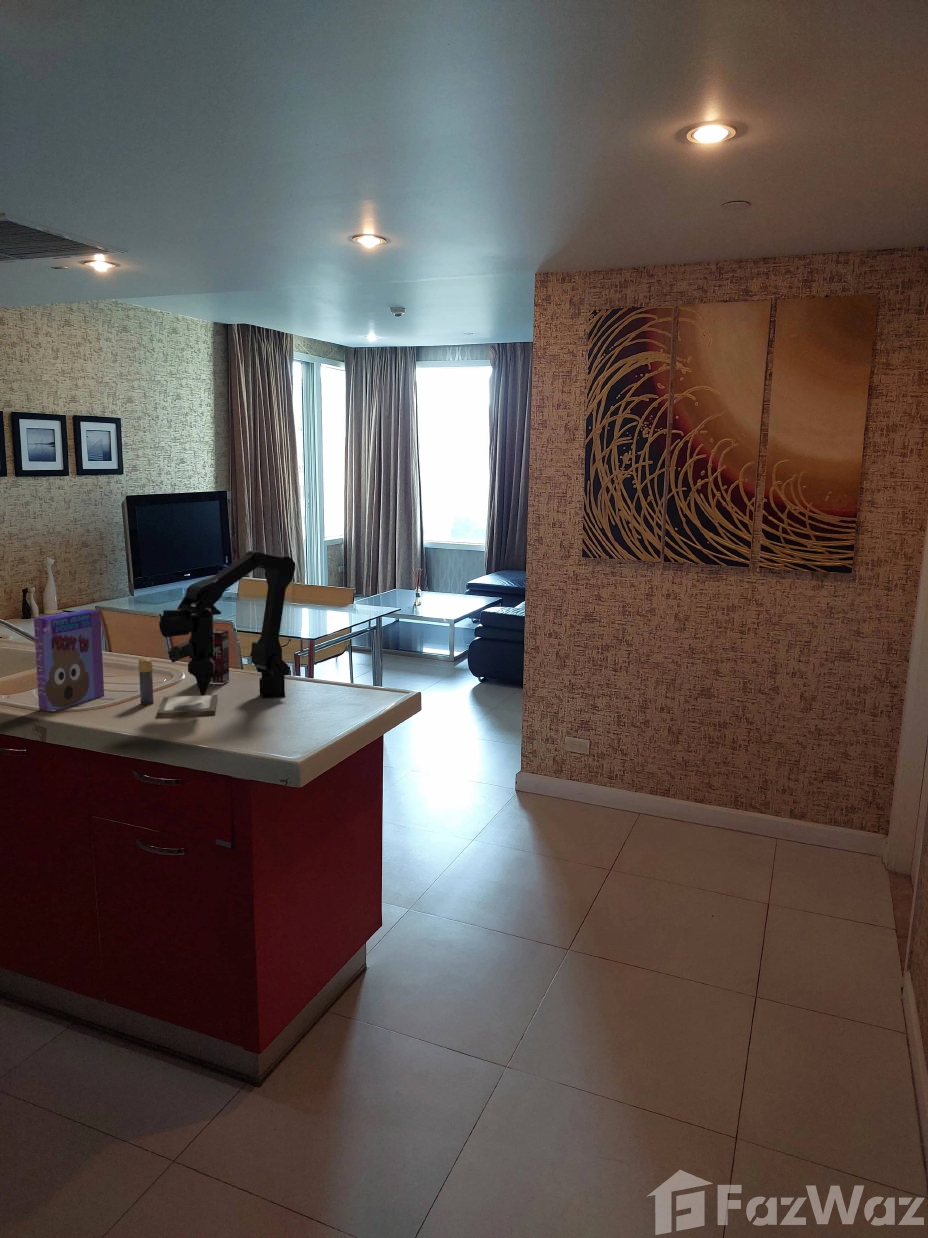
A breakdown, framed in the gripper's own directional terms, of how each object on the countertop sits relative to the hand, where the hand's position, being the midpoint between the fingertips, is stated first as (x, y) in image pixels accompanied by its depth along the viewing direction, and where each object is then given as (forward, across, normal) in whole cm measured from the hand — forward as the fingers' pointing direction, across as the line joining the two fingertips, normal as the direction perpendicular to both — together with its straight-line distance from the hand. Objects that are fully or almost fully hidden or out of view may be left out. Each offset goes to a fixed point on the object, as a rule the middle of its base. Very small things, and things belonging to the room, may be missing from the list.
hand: (203, 691), depth 210 cm
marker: (+5, -8, -15) cm, 18 cm away
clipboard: (+5, -2, -4) cm, 7 cm away
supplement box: (+5, -29, +1) cm, 29 cm away
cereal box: (+5, -12, -34) cm, 36 cm away
